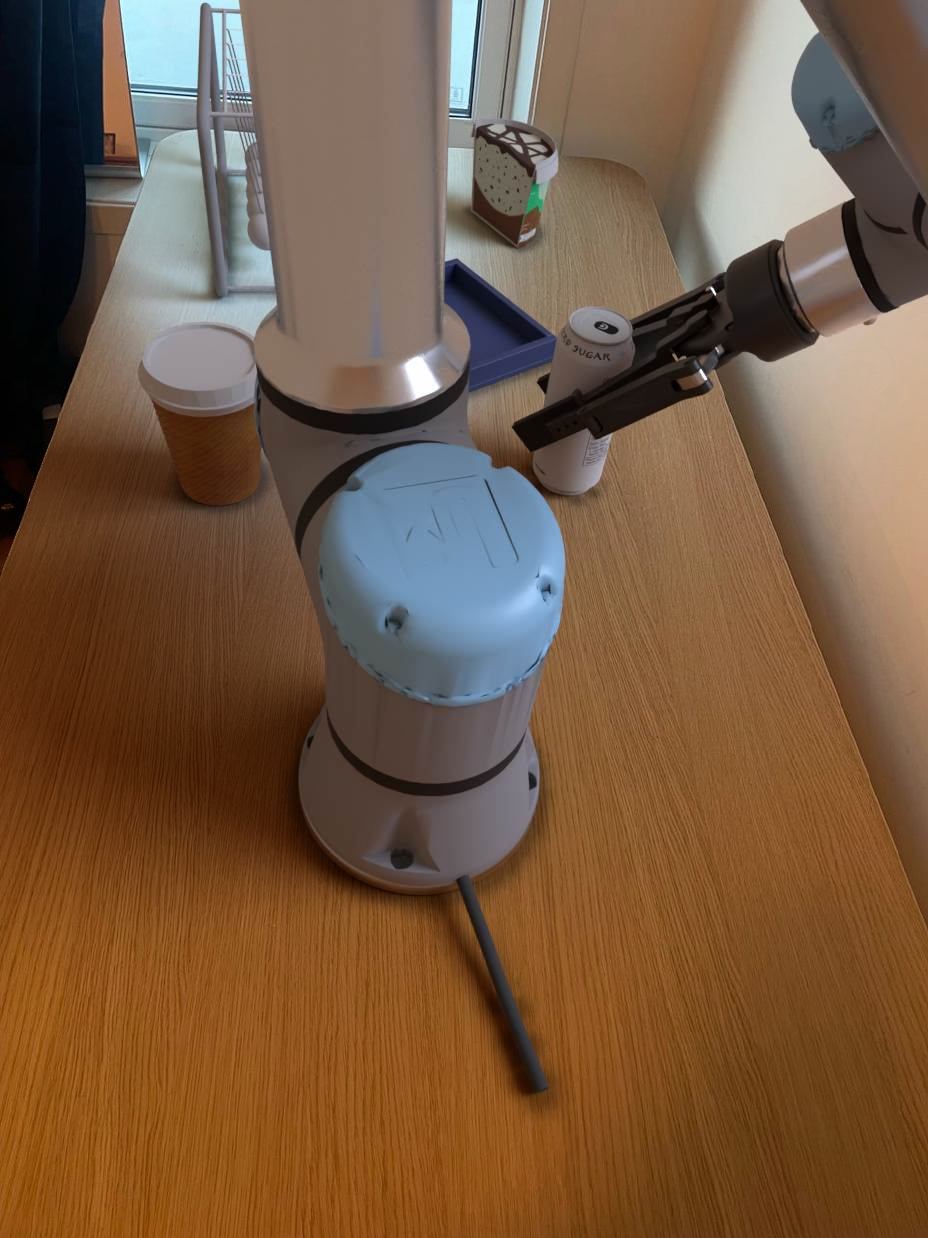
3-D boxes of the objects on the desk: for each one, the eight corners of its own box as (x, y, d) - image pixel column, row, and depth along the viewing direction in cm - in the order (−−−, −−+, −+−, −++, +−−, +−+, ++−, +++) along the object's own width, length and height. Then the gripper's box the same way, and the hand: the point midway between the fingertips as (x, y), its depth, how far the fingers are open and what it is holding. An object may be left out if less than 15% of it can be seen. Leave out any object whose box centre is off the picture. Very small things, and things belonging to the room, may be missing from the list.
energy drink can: (551, 444, 84) (584, 293, 73) (610, 472, 82) (653, 322, 71) (517, 479, 81) (546, 326, 69) (578, 509, 79) (618, 357, 67)
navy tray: (553, 360, 93) (558, 337, 91) (415, 412, 85) (417, 388, 83) (454, 280, 100) (457, 257, 98) (320, 321, 93) (320, 297, 91)
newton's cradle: (323, 305, 95) (319, 122, 81) (217, 306, 93) (195, 118, 79) (306, 168, 114) (300, 0, 100) (217, 166, 112) (199, -5, 98)
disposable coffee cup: (256, 530, 74) (243, 406, 65) (140, 505, 74) (111, 378, 65) (294, 455, 80) (288, 332, 71) (187, 433, 80) (167, 307, 71)
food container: (567, 243, 108) (584, 154, 100) (525, 254, 105) (539, 164, 98) (505, 195, 114) (516, 108, 106) (464, 205, 111) (472, 117, 104)
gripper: (810, 410, 59) (525, 519, 74) (838, 270, 71) (588, 388, 86) (755, 311, 55) (469, 446, 70) (794, 182, 67) (543, 320, 82)
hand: (535, 414), depth 78 cm, fingers closed on energy drink can, 6 cm apart
